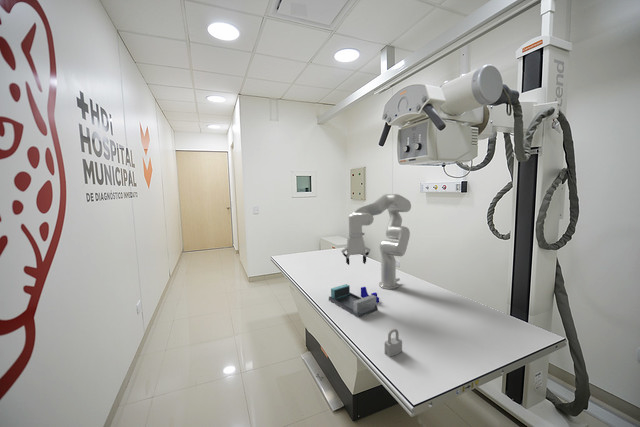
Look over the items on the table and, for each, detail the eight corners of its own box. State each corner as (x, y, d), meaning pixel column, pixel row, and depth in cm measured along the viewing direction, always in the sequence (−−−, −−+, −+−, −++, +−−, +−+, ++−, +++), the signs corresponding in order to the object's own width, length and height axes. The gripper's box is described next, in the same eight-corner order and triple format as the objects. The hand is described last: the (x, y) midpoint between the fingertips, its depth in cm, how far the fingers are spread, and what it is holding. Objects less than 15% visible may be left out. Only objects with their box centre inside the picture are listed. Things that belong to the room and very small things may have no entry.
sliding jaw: (346, 293, 165) (346, 284, 164) (349, 294, 162) (349, 285, 162) (331, 297, 158) (330, 288, 158) (334, 299, 156) (333, 290, 155)
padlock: (396, 347, 111) (396, 324, 110) (403, 352, 107) (403, 329, 106) (383, 352, 107) (383, 329, 106) (390, 358, 104) (390, 334, 103)
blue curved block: (379, 302, 154) (379, 292, 154) (373, 304, 152) (373, 294, 152) (366, 295, 165) (366, 286, 164) (360, 296, 163) (360, 287, 162)
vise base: (346, 294, 167) (346, 283, 166) (377, 310, 144) (377, 297, 143) (328, 300, 159) (328, 288, 158) (358, 317, 136) (358, 303, 136)
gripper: (368, 233, 158) (368, 261, 159) (339, 234, 156) (340, 262, 158) (371, 235, 150) (372, 264, 152) (342, 237, 149) (343, 266, 150)
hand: (356, 263), depth 155 cm, fingers open, 9 cm apart
